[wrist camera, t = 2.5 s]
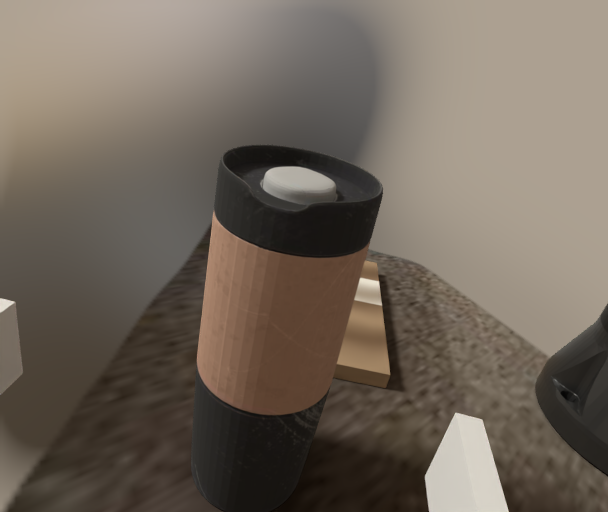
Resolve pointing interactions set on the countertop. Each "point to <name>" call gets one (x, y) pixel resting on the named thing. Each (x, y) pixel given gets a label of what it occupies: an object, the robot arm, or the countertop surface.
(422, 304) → the countertop surface
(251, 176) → the travel mug
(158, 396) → the countertop surface
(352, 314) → the wooden cutting board
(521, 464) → the countertop surface
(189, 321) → the countertop surface
